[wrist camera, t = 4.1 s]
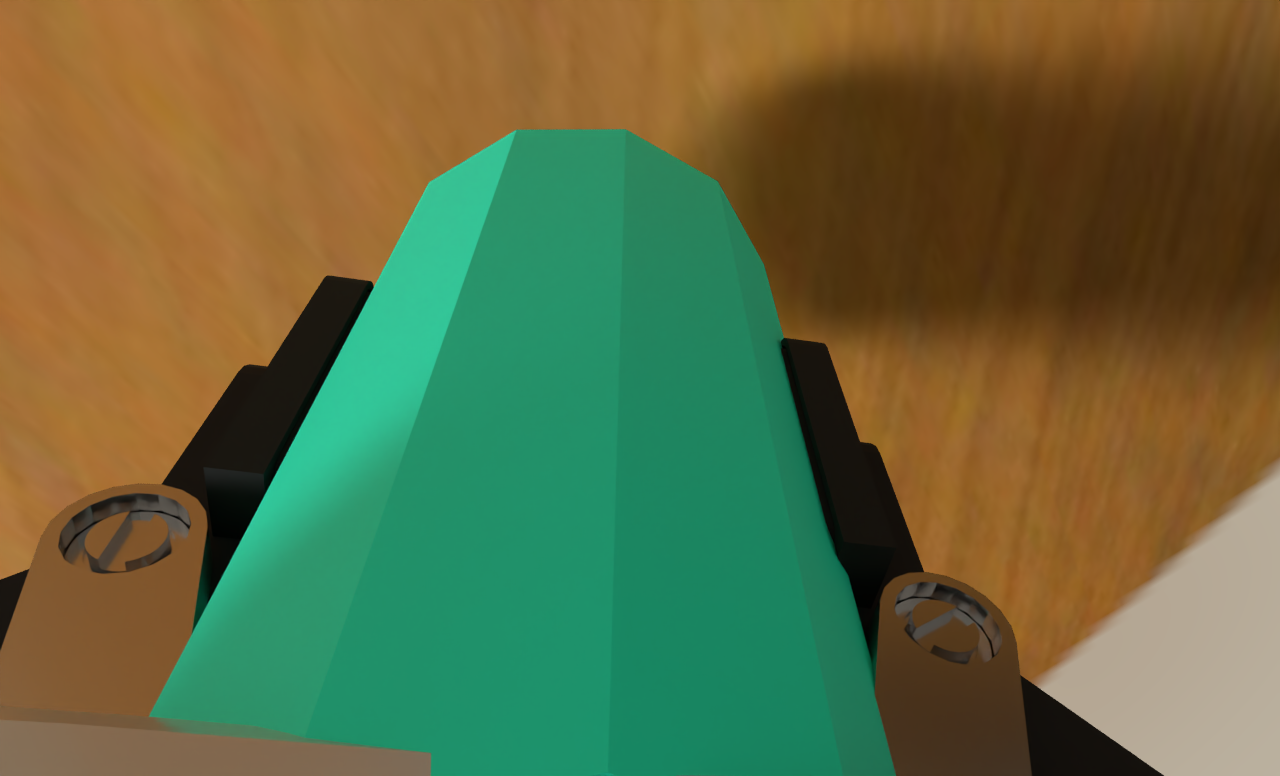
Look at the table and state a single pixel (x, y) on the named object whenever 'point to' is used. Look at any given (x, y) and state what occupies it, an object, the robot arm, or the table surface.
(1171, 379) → the table surface
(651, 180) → the candle
